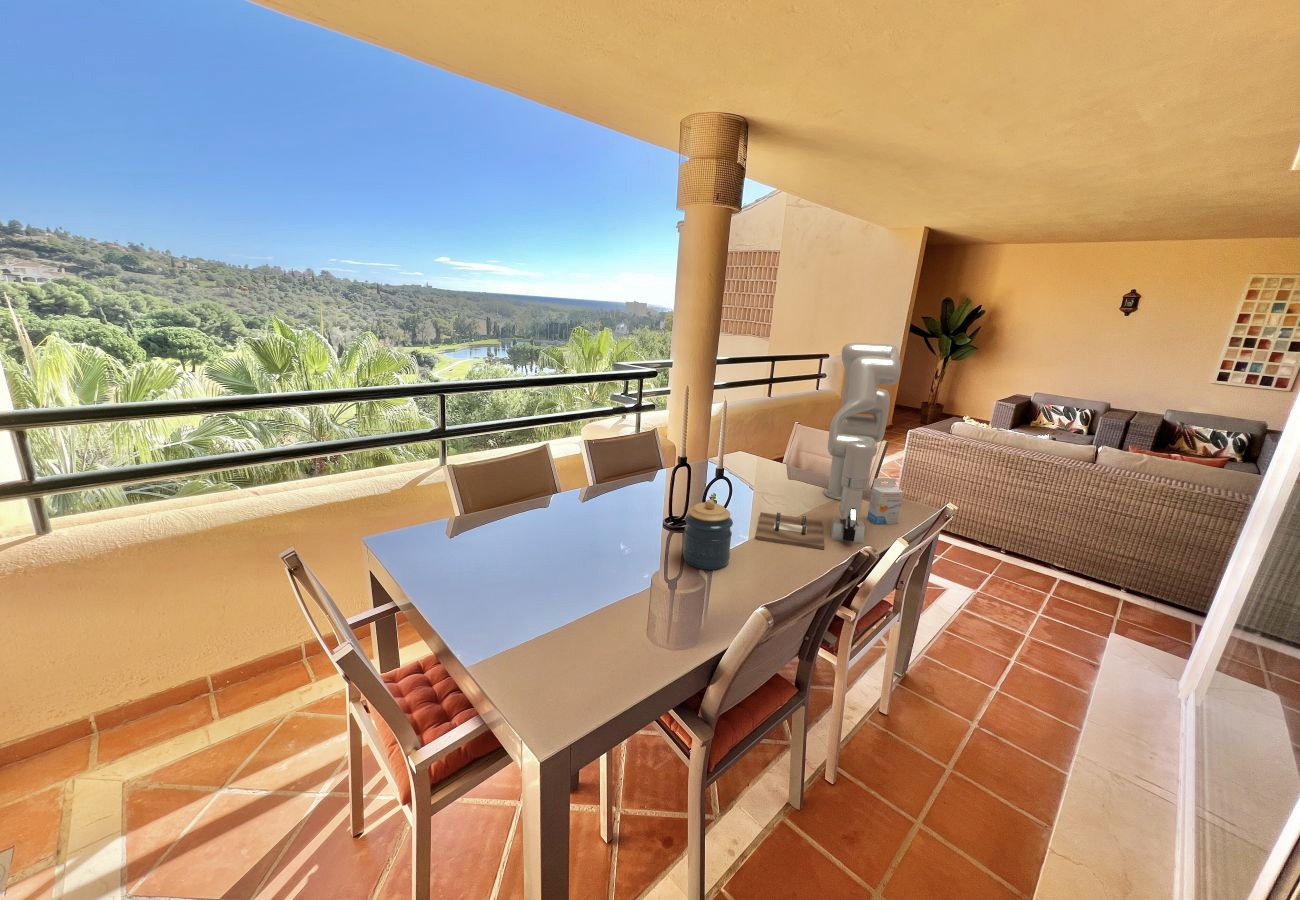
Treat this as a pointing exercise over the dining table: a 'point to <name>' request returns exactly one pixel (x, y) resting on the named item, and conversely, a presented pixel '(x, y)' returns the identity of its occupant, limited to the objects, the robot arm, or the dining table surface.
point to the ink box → (884, 502)
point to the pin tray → (790, 530)
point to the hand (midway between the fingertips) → (846, 534)
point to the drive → (839, 529)
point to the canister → (707, 536)
